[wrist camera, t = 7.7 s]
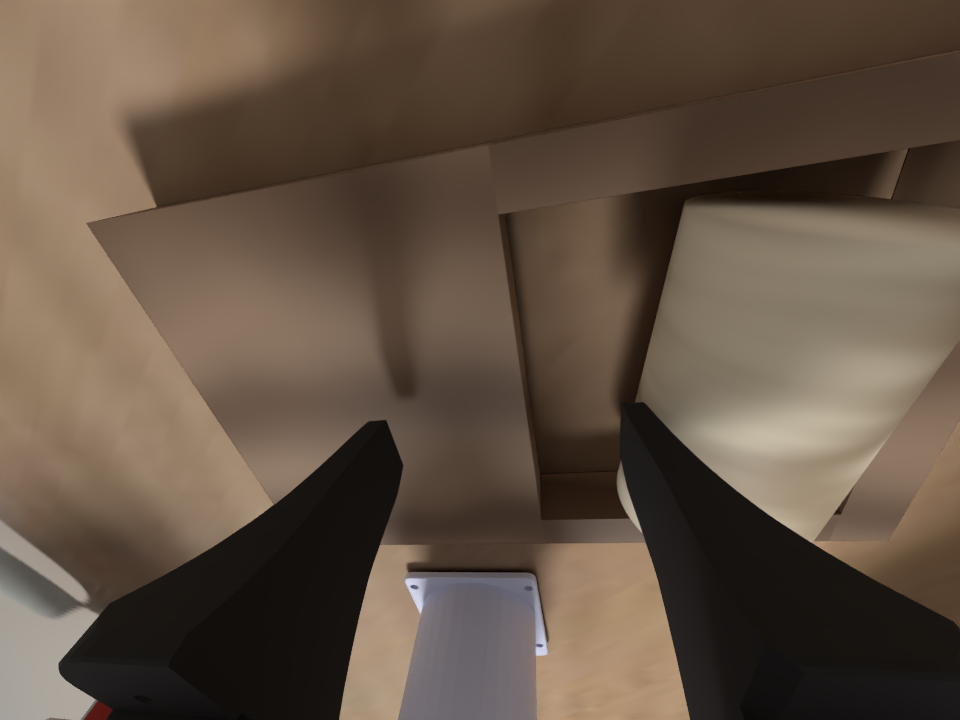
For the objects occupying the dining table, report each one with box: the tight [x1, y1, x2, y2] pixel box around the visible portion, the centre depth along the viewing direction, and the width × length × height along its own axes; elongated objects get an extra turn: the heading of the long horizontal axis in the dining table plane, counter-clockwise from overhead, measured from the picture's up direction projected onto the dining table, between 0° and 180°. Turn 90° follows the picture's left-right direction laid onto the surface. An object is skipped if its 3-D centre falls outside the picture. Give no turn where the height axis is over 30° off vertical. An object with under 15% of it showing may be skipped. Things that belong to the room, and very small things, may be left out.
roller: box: [617, 192, 960, 543], centre depth 11 cm, size 10×6×6 cm
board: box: [86, 50, 960, 545], centre depth 14 cm, size 16×25×2 cm, turn 100°
